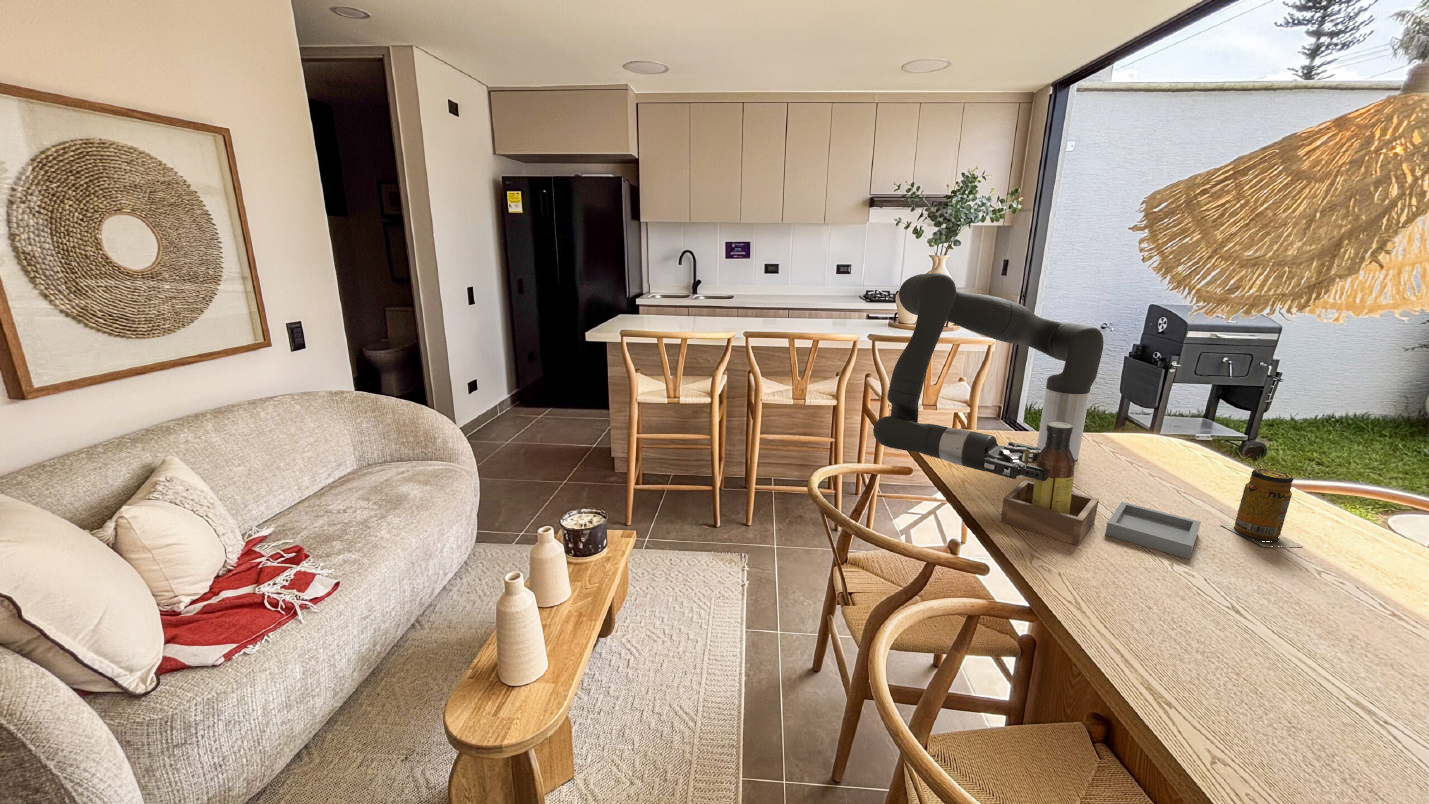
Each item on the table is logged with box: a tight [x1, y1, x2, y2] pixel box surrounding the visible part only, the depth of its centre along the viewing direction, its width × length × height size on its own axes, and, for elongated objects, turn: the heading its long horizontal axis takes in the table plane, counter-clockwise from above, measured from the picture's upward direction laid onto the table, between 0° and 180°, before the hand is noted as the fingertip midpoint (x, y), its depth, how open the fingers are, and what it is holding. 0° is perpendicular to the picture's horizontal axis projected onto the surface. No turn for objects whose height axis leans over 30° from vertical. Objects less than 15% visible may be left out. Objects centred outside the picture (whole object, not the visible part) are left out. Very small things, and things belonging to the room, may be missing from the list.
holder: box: [1000, 479, 1100, 547], centre depth 105 cm, size 12×13×5 cm
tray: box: [1104, 501, 1202, 560], centre depth 101 cm, size 12×12×2 cm
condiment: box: [1219, 468, 1304, 549], centre depth 99 cm, size 7×8×12 cm
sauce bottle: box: [1032, 422, 1076, 514], centre depth 103 cm, size 6×6×20 cm
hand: (1054, 469), depth 103 cm, fingers open, 8 cm apart
